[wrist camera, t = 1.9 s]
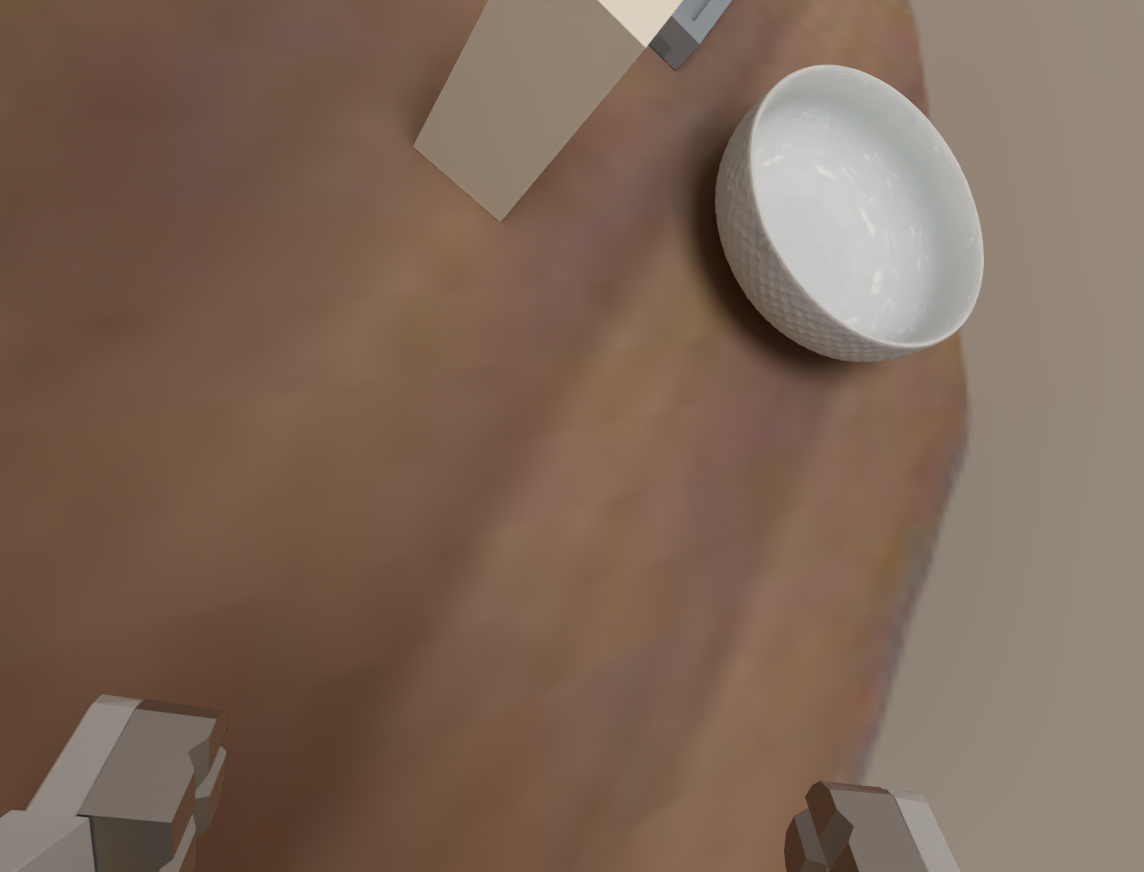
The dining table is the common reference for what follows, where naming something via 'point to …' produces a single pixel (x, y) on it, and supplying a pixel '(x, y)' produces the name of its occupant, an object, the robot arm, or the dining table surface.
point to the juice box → (530, 88)
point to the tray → (687, 29)
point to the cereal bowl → (848, 218)
